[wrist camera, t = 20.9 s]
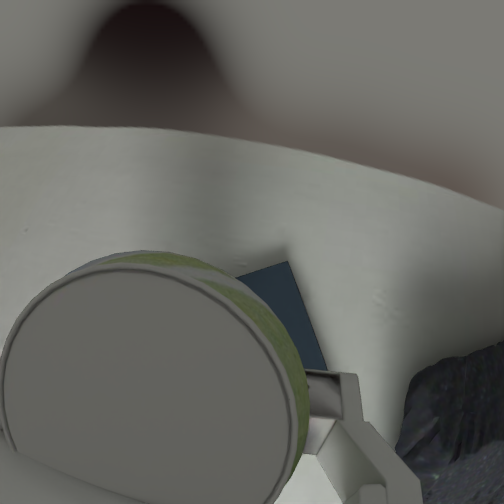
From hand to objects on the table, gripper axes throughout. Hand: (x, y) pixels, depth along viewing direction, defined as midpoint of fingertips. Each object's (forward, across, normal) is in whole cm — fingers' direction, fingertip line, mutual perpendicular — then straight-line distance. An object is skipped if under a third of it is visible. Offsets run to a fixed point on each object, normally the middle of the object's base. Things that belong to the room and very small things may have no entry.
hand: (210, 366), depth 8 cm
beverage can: (+5, +1, +6) cm, 7 cm away
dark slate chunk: (+4, -20, +9) cm, 23 cm away
